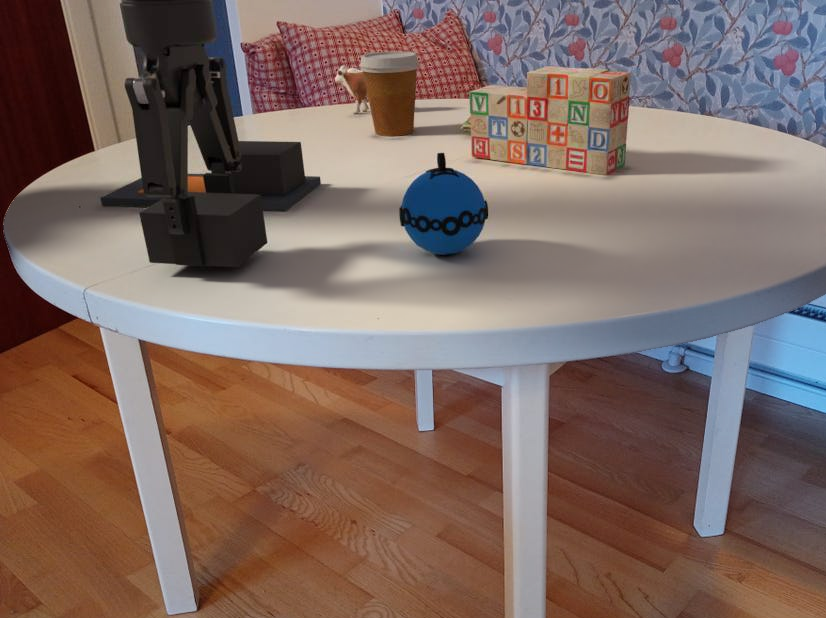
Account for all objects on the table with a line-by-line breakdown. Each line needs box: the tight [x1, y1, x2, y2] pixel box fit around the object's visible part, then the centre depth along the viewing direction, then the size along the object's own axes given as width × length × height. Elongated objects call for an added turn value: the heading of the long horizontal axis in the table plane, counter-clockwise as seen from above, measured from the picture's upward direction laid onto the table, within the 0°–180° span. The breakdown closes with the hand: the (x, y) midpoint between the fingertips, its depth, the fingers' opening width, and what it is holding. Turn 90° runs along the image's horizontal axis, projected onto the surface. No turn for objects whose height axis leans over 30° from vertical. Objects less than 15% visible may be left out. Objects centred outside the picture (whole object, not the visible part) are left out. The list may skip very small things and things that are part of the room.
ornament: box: [398, 152, 489, 256], centre depth 80 cm, size 9×9×10 cm
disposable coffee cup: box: [358, 50, 420, 137], centre depth 132 cm, size 10×10×12 cm
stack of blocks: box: [468, 65, 632, 176], centre depth 112 cm, size 21×6×12 cm, turn 58°
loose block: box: [138, 192, 268, 268], centre depth 79 cm, size 9×7×5 cm
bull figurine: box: [334, 65, 370, 115], centre depth 149 cm, size 4×13×8 cm, turn 84°
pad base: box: [99, 140, 322, 212], centre depth 103 cm, size 24×12×6 cm, turn 80°
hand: (209, 249), depth 80 cm, fingers closed on loose block, 7 cm apart
